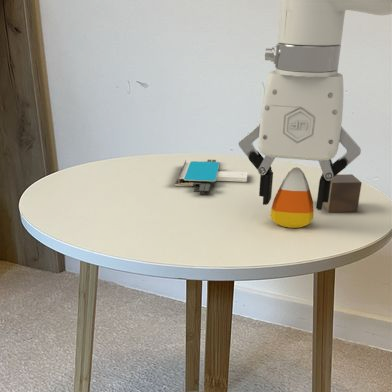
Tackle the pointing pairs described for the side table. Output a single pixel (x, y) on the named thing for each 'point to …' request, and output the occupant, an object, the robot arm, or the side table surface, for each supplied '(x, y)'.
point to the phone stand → (205, 175)
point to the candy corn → (293, 201)
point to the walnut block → (343, 194)
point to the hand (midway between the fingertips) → (293, 203)
